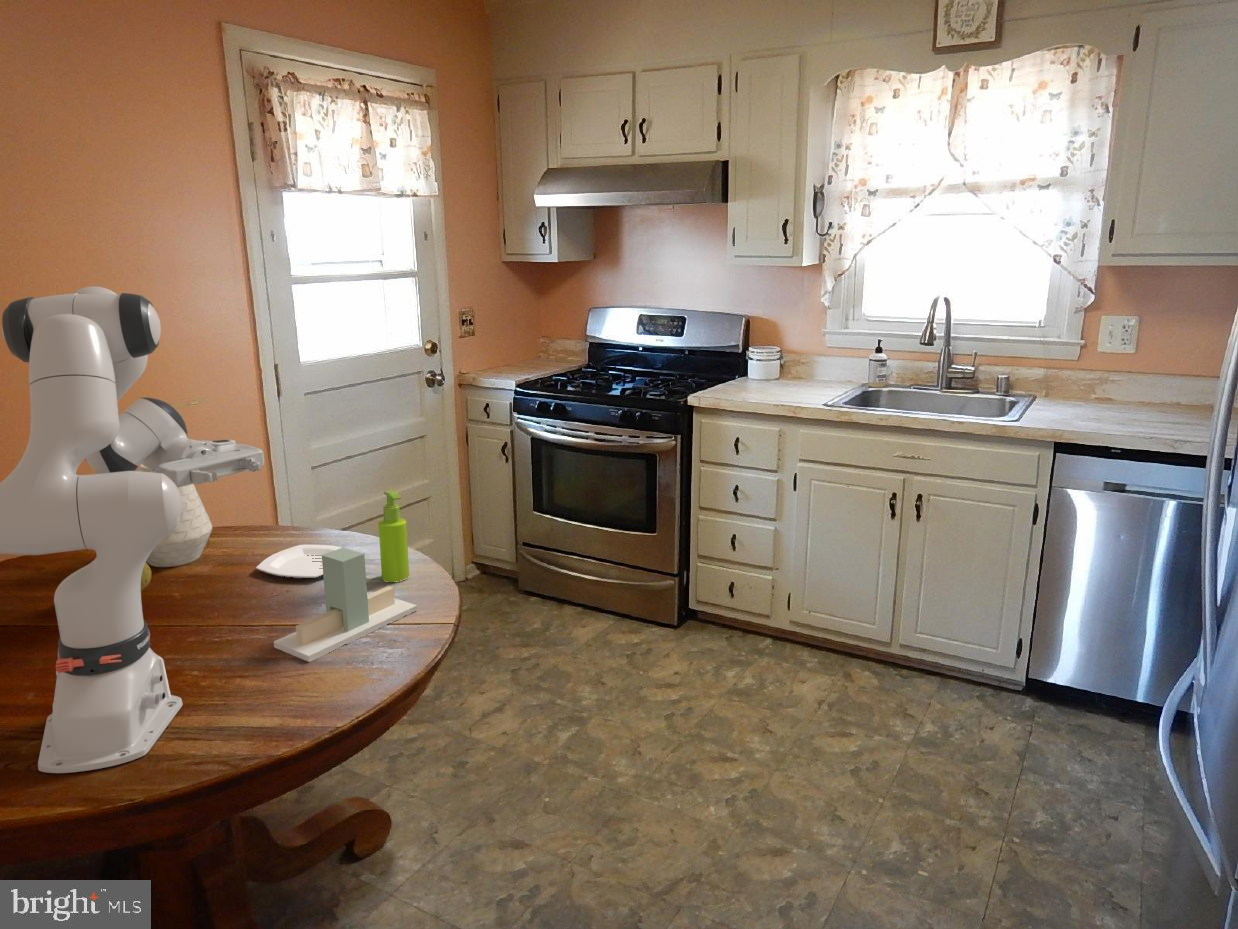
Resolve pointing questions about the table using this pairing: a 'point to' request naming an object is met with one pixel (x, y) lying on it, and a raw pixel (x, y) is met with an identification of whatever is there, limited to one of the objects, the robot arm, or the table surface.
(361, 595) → the tall rectangular block
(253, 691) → the table surface
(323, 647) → the rail board
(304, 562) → the plate
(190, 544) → the vase
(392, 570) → the soap dispenser
